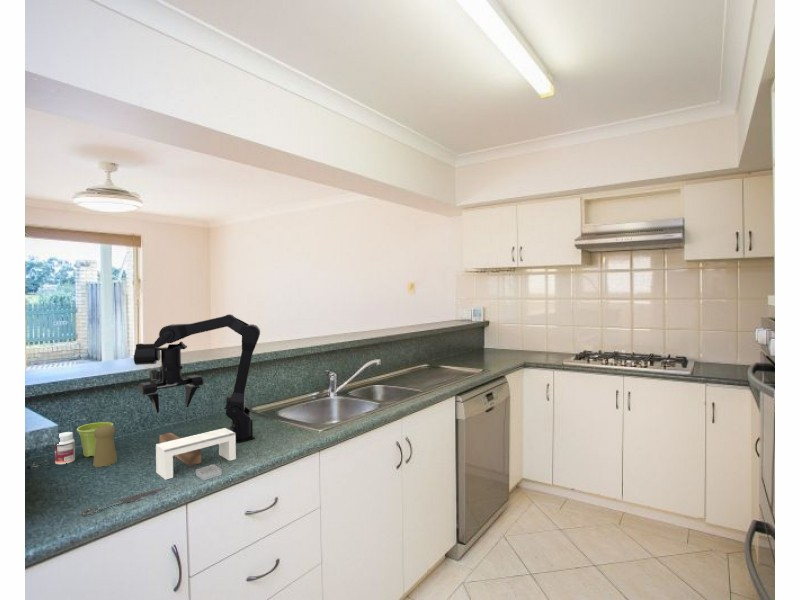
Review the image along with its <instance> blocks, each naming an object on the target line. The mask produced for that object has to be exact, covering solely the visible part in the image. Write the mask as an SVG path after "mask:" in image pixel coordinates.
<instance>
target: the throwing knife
mask: <svg viewBox="0 0 800 600" xmlns="http://www.w3.org/2000/svg"><path fill="white" fill-rule="evenodd" d="M172 487H173V486H172V485H171V486H166V487H161V488H157V489H153V490H148V491H145V492H141V493H137V494H131V495H130V496H126V497H124V498H122V499H120V500H116V501H114V502H110V503H107V504H104V505H99V506H95V507H94V506H93V507H90V508H86V509H84V510H82V511H81V516H82V515H83V516H82V517H85V516H86V517H88V516H87V515H91V516H93V515H92V514H94V513H96V512H94V511H91V512H90V511H89V510H93V509H95V511H96V510H98V508H97V507H101V506H105V505H108V504H113V503H116V502H119V501H121V502H122V501H123V502H122V503H119V504H122V505H124V504H123V503H126V502H134V503H136V502H135V501H137V500H139V501H142V500H145V499H147V498H149V497H151V496H154V495H157V494H160V493H162V492H164V491H166V490H169V489H171V488H172ZM144 498H145V499H144ZM141 499H142V500H141ZM137 502H138V501H137ZM126 504H127V503H126ZM116 505H118V504H116ZM113 506H115V505H113ZM118 506H119V505H118ZM110 507H112V506H110ZM115 507H116V506H115ZM107 508H109V507H107ZM112 508H113V507H112ZM104 509H106V508H104ZM109 509H110V508H109ZM101 510H103V509H99V510H98V511H101ZM106 510H107V509H106ZM87 511H88V512H90V513H88V512H87ZM98 511H97V512H98ZM103 511H104V510H103ZM101 512H102V511H101ZM98 513H99V512H98ZM96 514H97V513H96ZM94 515H95V514H94Z"/></svg>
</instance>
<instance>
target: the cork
mask: <svg viewBox="0 0 800 600" xmlns="http://www.w3.org/2000/svg"><path fill="white" fill-rule="evenodd" d="M114 435H116V429H115V427H114V425H113V426H111V425H105V426H100V427H98V428H96V430H95V431H94V436H95V438H96V447H95V454H94V456H93V461H92V462H93V463H92V466H93V467H94V466H95V467H94V468H103V467H102V466H105V467H108V465H109V466H112V465H114V464H113V463H115V462H116V463H117V462H118V457H117V456H118V455H117V451H116V450H117V449H116V444H115V440H114ZM116 463H115V464H116ZM111 464H112V465H111Z"/></svg>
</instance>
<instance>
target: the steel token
mask: <svg viewBox="0 0 800 600" xmlns="http://www.w3.org/2000/svg"><path fill="white" fill-rule="evenodd" d="M222 471H223V469H222V468H221V467H219V466H218V465H216V464H213V463H212V464H210V465H206V466H204V467H203V466H202V467H200V468H197V469H195V476H197V477H198V478H199V479H201V480H202V481H206V480H209V479H213V478H216V477H219V476H222V473H223V472H222Z"/></svg>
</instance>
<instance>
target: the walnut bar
mask: <svg viewBox="0 0 800 600" xmlns="http://www.w3.org/2000/svg"><path fill="white" fill-rule="evenodd" d="M180 438H181V437H180V436H178V435H176V434H174V433H172V432H166V433H163V434H159V443H164V442H168V441H172V440H176V439H180ZM173 457H175V458H176V457H177V458H176V459H178V460H180V461H181V462H183V464H185V465H187V466H188V467H190V466H193V465H198V464H201V463H202V450H201V449H197V450H193V451H189V452H186V453H182V454H178V455H174V456H173Z"/></svg>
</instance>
